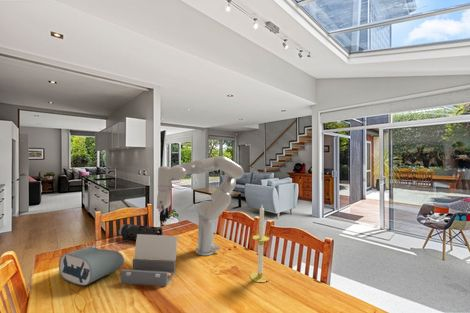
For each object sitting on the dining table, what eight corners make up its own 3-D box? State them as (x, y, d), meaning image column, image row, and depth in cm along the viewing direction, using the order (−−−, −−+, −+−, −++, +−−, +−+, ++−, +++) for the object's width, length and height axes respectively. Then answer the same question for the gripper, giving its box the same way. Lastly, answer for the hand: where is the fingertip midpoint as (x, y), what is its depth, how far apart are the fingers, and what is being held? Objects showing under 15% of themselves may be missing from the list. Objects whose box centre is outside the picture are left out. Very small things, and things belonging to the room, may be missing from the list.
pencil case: (58, 278, 109) (59, 251, 109) (95, 262, 127) (96, 239, 127) (89, 290, 101) (91, 261, 101) (124, 271, 119) (125, 246, 119)
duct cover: (175, 260, 117) (175, 260, 118) (177, 236, 120) (177, 236, 121) (133, 258, 119) (134, 258, 120) (137, 234, 122) (137, 234, 122)
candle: (254, 284, 109) (256, 206, 108) (247, 273, 118) (249, 202, 117) (273, 281, 111) (275, 205, 110) (265, 271, 121) (267, 201, 120)
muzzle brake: (155, 245, 151) (155, 229, 150) (118, 241, 156) (118, 226, 156) (162, 239, 160) (162, 225, 160) (127, 235, 165) (127, 221, 165)
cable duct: (174, 272, 118) (175, 260, 117) (165, 287, 105) (166, 274, 105) (133, 269, 119) (133, 258, 119) (119, 284, 106) (120, 271, 106)
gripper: (163, 185, 139) (163, 215, 139) (152, 190, 122) (151, 224, 122) (175, 186, 138) (175, 215, 139) (165, 190, 122) (165, 224, 122)
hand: (164, 219), depth 131 cm, fingers open, 4 cm apart
